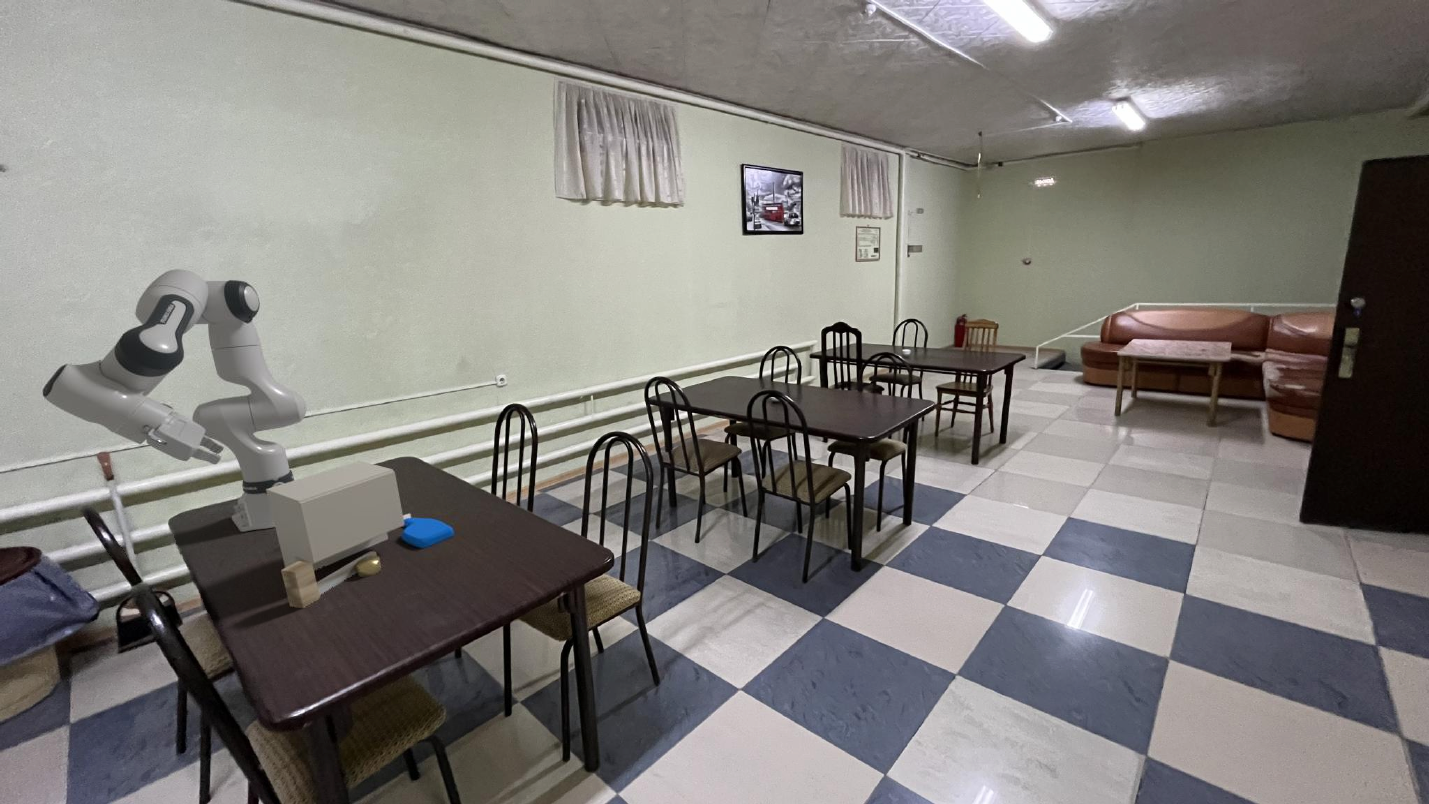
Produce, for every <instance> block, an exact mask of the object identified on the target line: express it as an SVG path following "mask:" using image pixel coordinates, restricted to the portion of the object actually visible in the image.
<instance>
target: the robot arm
mask: <svg viewBox="0 0 1429 804" xmlns="http://www.w3.org/2000/svg"><path fill="white" fill-rule="evenodd" d="M135 308H136V309H135V312H134V314H135V317H136V319H137V320H138V322H140V323H141V325H138V326H136V327H132V328H130V329H128V330H126V331H125V332H123V333H122V335H121V336H120V337H119V339H118V341H117V342H116V344H115V345H114V346H113V348H112V349H110V350H109V352H108V353H107V354H106V355H105V356H104V358H103V359H99V360H97V361H94V362H89V363H84V364H72V363H66V364H64V365H62V366H60V367H59V368H58V369H57V370H56V371H55V373H54V374H53V375H52V376H51V377H50V379H48V381H47V383H46V384H45V386H44V387H43V389H42V397H43V398H44V399H45V400H46V401H47V402H48V403H50V404H52V405H53V406H55V407H57V408H58V409H60V410H62V411H64V412H66V413H68V414H69V415H72V416H74V417H77V418H78V419H81V420H83V421H86V422H88V423H94V424H97V425H100V426H103V427H104V428H106V429H107V430H108V431H110V432H111V433H113V434H116V435H118V436H120V437H123V438H124V439H127V440H129V441H132V442H134V443H136V444H138V445H142V444H143V443H144V442H145V441H146V444H147V445H149V446H150V447H152V448H154V449H156V450H158V451H159V452H162V453H164V454H165V455H167V456H170V457H171V458H174V459H177V460H178V461H183V462H188V461H189V460H190V459H191V458H193V459H196V460H200V461H204V462H208V463H209V464H212V465H217V464H218V463H219V462H220V461H221V459H222V456H221V455H219V454H220V453H222V452H223V451H224V449H225V447H224V446H226V447H227V448H228V449H229V450H230V451H231V452H232V454H233V455H234V456H235V458H236V460H237V463H238V466H239V469H240V471H241V474H242V477H243V479H242V484H241V486H242V492H243V493H242V494H241V496H240V497H239V499H237V504H234V505H233V511H234V513H235V514H233V515H231V520H232V522H233V523H234V525H235V526H236V528H238V530H239V531H240V532H242V533H243V532H248V531H254V530H263V529H270V528H275V524H274V520H273V516H272V512H271V507H270V503H269V499H268V495H267V491H266V489H269V488H272V487H275V486H278V485H282V484H285V483H288V482H291V481H295V478H294V477H295V476H294V473H293V471H292V470H291V469H290V466H289V461H288V456H287V452H286V450H285V448H284V446H283V445H281V444H279V443H277V442H274V441H269V440H265V439H264V440H263V439H260V438H258V437H257V436H256V435H254V434H255V433H258V432H263V431H269V430H275V429H281V428H285V427H288V426H292V425H295V424H298V423H300V422H302V421H303V419H304V418H305V416H306V414H307V404H306V401H305V399H304V398H303V397H302V396H301V395H300V394H299V393H297V392H295V391H294V390H291V389H289V388H287V387H285V386H284V385H282V384H280V383H279V382H278V381H277V380H276V379H275V377H273V376H272V374H271V372H270V371H269V369H268V366H267V363H266V360H265V357H264V353H263V349H262V344H261V341H260V337H259V333H258V332H257V328H256V326H255V324H254V321H253V319H254V318H255V317H256V316H257V314H258V312H259V310H260V299H259V296H258V293H257V290H256V289H255V288H254V287H253V285H251V284H249V283H248V282H247V281H242V280H236V279H229V280H207V281H206V280H205V279H204V278H202V276H200V275H198V274H197V273H195V272H193V271H190V270H187V269H181V268H180V269H177V268H176V269H171V270H170V269H169V270H168V271H165V272H164V273H162V274H160V275H159V276H158V277H157V278H156V279H155V280H153V281H152V282H151V283H150V284H149V285H148V286H147V288H146V289H145V291H144V292H142V295H141V296H140V297H139V300H138V301H137V304H136V307H135ZM195 325H207V328H208V330H207V331H208V339H209V344H210V345H209V347H210V350H211V354H212V359H213V363H214V367H215V371H216V374H217V376H218V377H219V379H221V380H223V381H225V382H228V383H231V384H235V385H238V386H239V385H240V386H242V387H243V386H244V387H246V388H248V389H249V390H250V394H246V395H240V396H232V397H226V398H225V397H224V398H218V399H214V400H211V401H206V402H204V403H201V404H199V405H198V406H197V407H196V408H195V409H194V411H193V413H192V419H190V418H188V417H186V416H184V415H183V414H181V413H179V412H176V411H174V407H172V406H171V405H169V404H166V403H165V402H164V403H162V402H159V401H157V400H155V399H152V398H150V397H148V395H149V394H150V393H151V392H152V391H153V390H154V389H155V388H157V386H158V385H159V384H160V383H161V382H163V380H164V379H165V378H166V377H167V376H168V375H169V374H170V373H171V372H172V371H173V370H175V369H176V367H178V366H179V365H180V364H181V363H182V362H183V360H184V358H185V351H184V350H185V349H184V345H183V335H185V334H187V332H189V331H190V330H191V329H192V328H193V327H194V326H195ZM216 441H217V442H219V443H217V442H216ZM202 447H203V448H202ZM204 448H205V449H208V450H209V451H208V450H205V449H204Z"/></svg>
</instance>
